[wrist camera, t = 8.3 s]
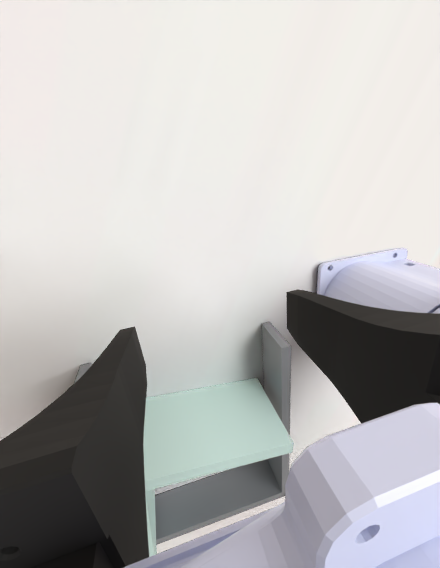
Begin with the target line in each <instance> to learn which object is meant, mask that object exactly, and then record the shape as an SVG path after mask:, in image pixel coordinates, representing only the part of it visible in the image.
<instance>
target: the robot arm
mask: <svg viewBox="0 0 440 568" xmlns="http://www.w3.org/2000/svg"><path fill="white" fill-rule="evenodd" d="M407 253H408V251H407V249H405V248H398V249H393V250H388V251H382V252H377V253H372V254H366V255H361V256H356V257H351V258H345V259H340V260H335V261H330V262H324V263H321V264H320V265H319V267H318V280H317V294H316V293H312V292H308V291H304V290H294V291H290V292H287V329H288V330H289V332H290V333H291V335H292V337H293V338H294V339H295V341H296V342H297V344H298V345H299V346H300V347H301V348H302V350H303V351H304V352H305V353H306V354H307V355H308V356H309V357H310V358H311V360H312V361H313V362H314V363H315V364H316V365H317V366H318V367H319V368H320V369H321V370H322V372H323V373H324V374H325V375H326V376H327V377H328V378H329V379H330V381H331V382H332V383H333V384H334V386H335V387H336V388H337V390H338V391H339V392H340V394H341V395H342V396H343V398H344V399H345V400H346V402H347V403H348V405H349V406H350V408H351V409H352V410H353V412H354V413H355V415H356V416H357V418H358V419H359V421H360V422H361V424H359V425H356V426H353V427H350V428H348V429H345V430H342V431H339V432H336V433H333V434H331V435H328V436H326V437H324V438H322V439H320V440H319V441H317V442H315V443H313V444H311V445H309V446H308V447H306V449H305V450H304V451H303V452H302V453H301V454H300V455H299V456H298V457H297V458H296V459H295V460H294V461H293V463H292V465H291V468H290V471H289V475H288V478H287V481H286V484H285V499H286V501H285V502H284V503H282V504H280V505H279V506H277V507H274V508H272V509H269V510H267V511H264V512H262V513H259V514H257V515H254V516H252V517H249V518H247V519H244V520H242V521H239V522H237V523H234V524H231V525H229V526H226V527H224V528H221V529H219V530H216V531H214V532H211V533H209V534H206V535H204V536H201V537H199V538H196V539H194V540H191V541H189V542H186V543H184V544H181V545H179V546H176V547H174V548H171V549H169V550H166V551H163V552H161V553H158V554H156V555H153V556H151V557H149V546H148V531H147V514H146V497H145V476H144V448H143V440H144V421H145V407H146V391H147V378H146V364H145V361H144V357H143V354H142V350H141V347H140V343H139V340H138V336H137V333H136V329H135V327H131V328H127V329H122V330H120V331H119V332H118V333H117V335H116V336H115V337H114V339H113V340H112V341H111V343H110V344H109V345H108V346H107V348H106V349H105V350H104V351H103V353H102V354H101V355H100V356H99V358H98V359H97V360H96V361H95V362H94V363H93V364H92V366H91V367H90V368H89V369H88V370H87V371H86V372H85V373H84V374H83V375H82V376H81V378H80V379H79V380H78V381H76V382H75V383H74V384H73V385H72V386H71V387H70V388H69V389H68V390H67V391H66V392H65V393H64V394H62V395H61V396H60V397H59V398H58V399H56V400H55V401H54V402H53V403H52V404H50V405H49V406H48V407H47V408H45V409H44V410H43V411H42V412H40V413H39V414H38V415H37V416H35V417H34V418H33V419H31V420H30V421H28V422H27V423H26V424H24V425H23V426H22V427H20V428H19V429H17V430H16V431H14V432H13V433H11V434H10V435H9V436H7V437H6V438H4V439H3V440H1V441H0V568H440V269H439V268H435V267H432V266H429V265H425V264H422V263H419V262H415V261H412V260H409V259H406V258H407ZM393 254H394V255H393ZM329 266H330V268H329V269H328V267H329Z"/></svg>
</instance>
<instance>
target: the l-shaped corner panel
mask: <svg viewBox="0 0 440 568" xmlns="http://www.w3.org/2000/svg"><path fill="white" fill-rule="evenodd" d="M293 445H294V443H293V441H292V439H291V437H290V435H289V434H288V432H287V430H286V428H285V427H284V425H283V423H282V421H281V420H280V418H279V416H278V414H277V412H276V411H275V409H274V407H273V405H272V404H271V402H270V400H269V398H268V396H267V395H266V393H265V391H264V389H263V388H262V386H261V384H260V382H259V381H258V379H257V378H253V379H247V380H242V381H236V382H231V383H225V384H220V385H214V386H209V387H203V388H198V389H192V390H187V391H181V392H176V393H170V394H164V395H159V396H153V397H148V398H146V407H145V421H144V440H143V448H144V476H145V497H146V514H147V531H148V546H149V557H151V556H153V555H156V554H157V551H156V516H155V489H157V488H161V487H164V486H168V485H172V484H176V483H179V482H183V481H187V480H191V479H194V478H198V477H202V476H206V475H209V474H213V473H217V472H221V471H224V470H228V469H232V468H236V467H239V466H243V465H247V464H251V463H254V462H258V461H262V460H266V459H269V458H273V457H277V456H281V455H284V454H288V453H292V451H293Z"/></svg>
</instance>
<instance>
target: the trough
mask: <svg viewBox="0 0 440 568" xmlns="http://www.w3.org/2000/svg"><path fill="white" fill-rule="evenodd" d="M262 344H263V372H264V391H265V393H266V395H267V396H268V398H269V400H270V402H271V404H272V405H273V407H274V409H275V411H276V412H277V414H278V416H279V418H280V420H281V421H282V423H283V425H284V427H285V428H286V430H287V432H288V434H289V435H290V378H291V345H290V344H289V343H288V342H287V341H286V340H285V339H284V337H283V336H282V335H281V334H280V333H279V332H278V331H277V329H276V328H275V327H274V326H273V325H272V324H271V323H270V322H266V323H262ZM91 366H92V364H91V363H88V364H84V365H80V368H79V371H78V374H77V377H76V380H75V382H76V381H78V380H79V379H80V378H81V376H82V375H83V374H84V373H85V372H86V371H87V370H88V369H89V368H90V367H91ZM75 382H74V383H75ZM288 475H289V453H288V454H284V455H281V456H277V457H273V458H269V459H266V460H262V461H258V462H254V463H251V464H247V465H243V466H239V467H236V468H233V469H230V470H228V471H225V472H222V473H219V474H216V475H213V476H210V477H207V478H204V479H201V480H198V481H195V482H193V483H190V484H187V485H184V486H181V487H178V488H175V489H172V490H169V491H166V492H163V493H160V494H158V495H155V516H156V545H157V544H160V543H162V542H165V541H168V540H170V539H173V538H176V537H178V536H181V535H183V534H186V533H189V532H191V531H194V530H197V529H199V528H202V527H204V526H207V525H210V524H212V523H215V522H218V521H220V520H223V519H225V518H228V517H231V516H233V515H236V514H239V513H241V512H244V511H246V510H249V509H252V508H254V507H257V506H260V505H262V504H265V503H267V502H270V501H273V500H275V499H278V498H281V497H283V496H285V484H286V481H287V478H288Z"/></svg>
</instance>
